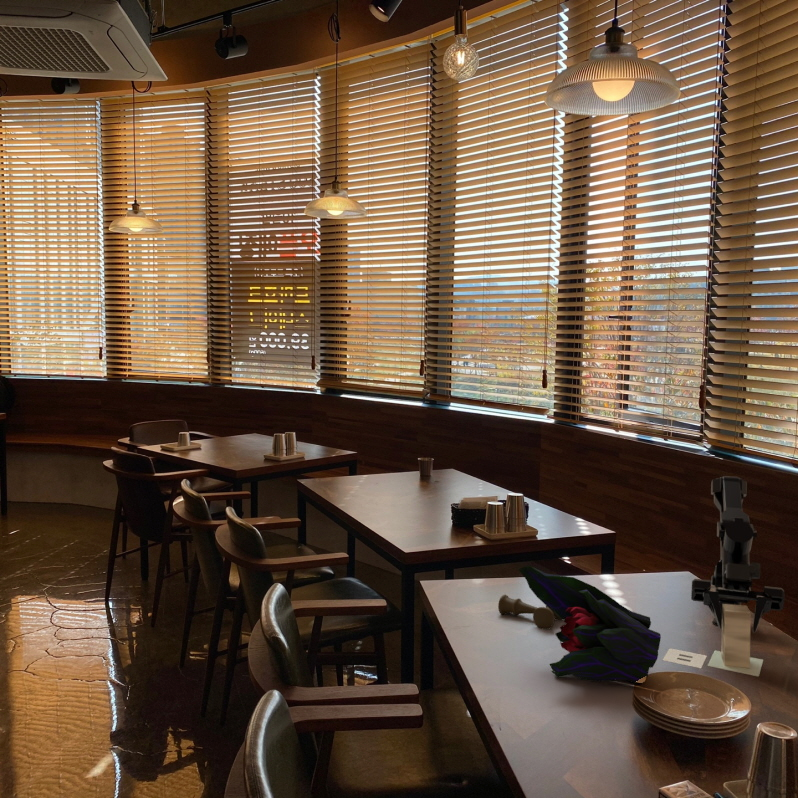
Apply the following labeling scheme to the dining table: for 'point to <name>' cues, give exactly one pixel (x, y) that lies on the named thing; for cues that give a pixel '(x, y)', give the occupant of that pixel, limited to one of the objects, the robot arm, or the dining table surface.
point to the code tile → (685, 658)
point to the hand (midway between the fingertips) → (737, 629)
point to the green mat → (753, 670)
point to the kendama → (528, 611)
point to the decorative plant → (595, 630)
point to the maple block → (735, 635)
